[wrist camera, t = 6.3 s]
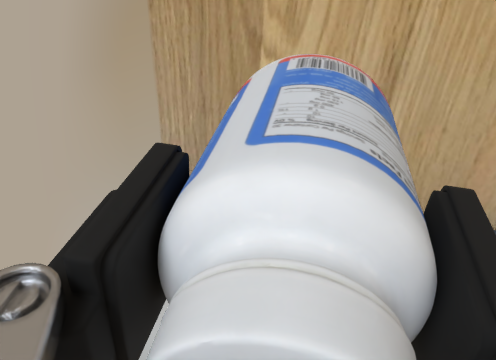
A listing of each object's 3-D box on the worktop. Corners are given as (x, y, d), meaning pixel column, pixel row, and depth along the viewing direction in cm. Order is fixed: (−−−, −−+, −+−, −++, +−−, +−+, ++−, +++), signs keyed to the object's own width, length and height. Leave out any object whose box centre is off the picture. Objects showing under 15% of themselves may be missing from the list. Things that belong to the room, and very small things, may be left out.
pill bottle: (282, 216, 16) (221, 526, 8) (200, 103, 14) (4, 358, 6) (423, 158, 13) (545, 521, 5) (347, 11, 11) (359, 232, 3)
